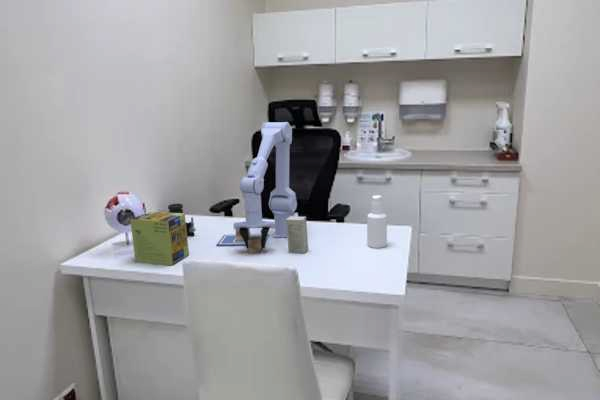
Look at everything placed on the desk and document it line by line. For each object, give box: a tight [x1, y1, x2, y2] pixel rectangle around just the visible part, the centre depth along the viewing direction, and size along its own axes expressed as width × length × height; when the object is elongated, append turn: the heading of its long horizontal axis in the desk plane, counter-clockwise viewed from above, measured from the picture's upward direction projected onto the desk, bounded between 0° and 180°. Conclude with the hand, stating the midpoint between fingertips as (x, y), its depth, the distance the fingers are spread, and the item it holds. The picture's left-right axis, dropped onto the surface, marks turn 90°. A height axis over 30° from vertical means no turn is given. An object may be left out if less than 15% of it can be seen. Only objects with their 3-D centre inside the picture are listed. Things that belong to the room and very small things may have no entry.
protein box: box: [129, 211, 190, 266], centre depth 161 cm, size 10×15×16 cm
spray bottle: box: [366, 195, 388, 249], centre depth 165 cm, size 7×7×18 cm
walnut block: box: [248, 236, 264, 255], centre depth 165 cm, size 4×4×5 cm
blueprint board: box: [216, 233, 270, 247], centre depth 178 cm, size 18×12×1 cm, turn 85°
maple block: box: [234, 228, 251, 241], centre depth 177 cm, size 4×4×5 cm
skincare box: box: [286, 216, 309, 254], centre depth 163 cm, size 6×4×12 cm
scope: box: [167, 203, 197, 238], centre depth 182 cm, size 8×14×10 cm
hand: (255, 247), depth 165 cm, fingers open, 5 cm apart
